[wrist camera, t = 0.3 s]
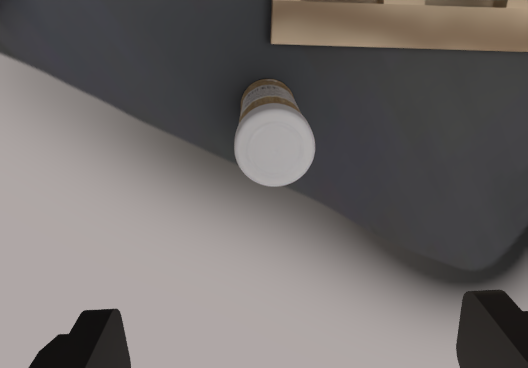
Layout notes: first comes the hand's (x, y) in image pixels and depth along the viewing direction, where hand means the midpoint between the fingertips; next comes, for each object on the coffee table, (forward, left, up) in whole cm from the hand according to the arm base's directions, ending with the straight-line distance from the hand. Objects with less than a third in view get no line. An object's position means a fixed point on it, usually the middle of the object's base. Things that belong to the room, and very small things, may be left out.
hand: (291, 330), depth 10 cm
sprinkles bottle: (0, 0, -28) cm, 28 cm away
